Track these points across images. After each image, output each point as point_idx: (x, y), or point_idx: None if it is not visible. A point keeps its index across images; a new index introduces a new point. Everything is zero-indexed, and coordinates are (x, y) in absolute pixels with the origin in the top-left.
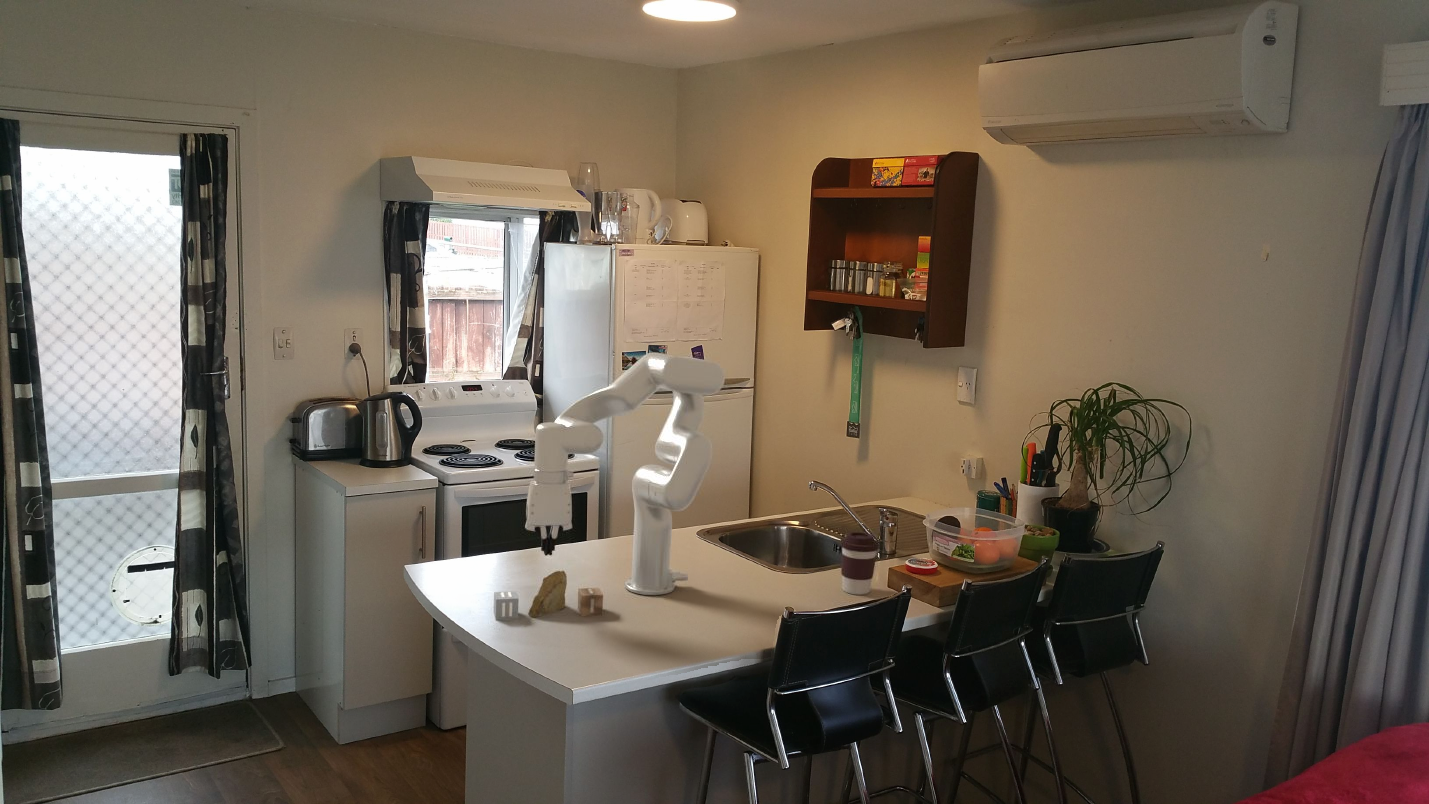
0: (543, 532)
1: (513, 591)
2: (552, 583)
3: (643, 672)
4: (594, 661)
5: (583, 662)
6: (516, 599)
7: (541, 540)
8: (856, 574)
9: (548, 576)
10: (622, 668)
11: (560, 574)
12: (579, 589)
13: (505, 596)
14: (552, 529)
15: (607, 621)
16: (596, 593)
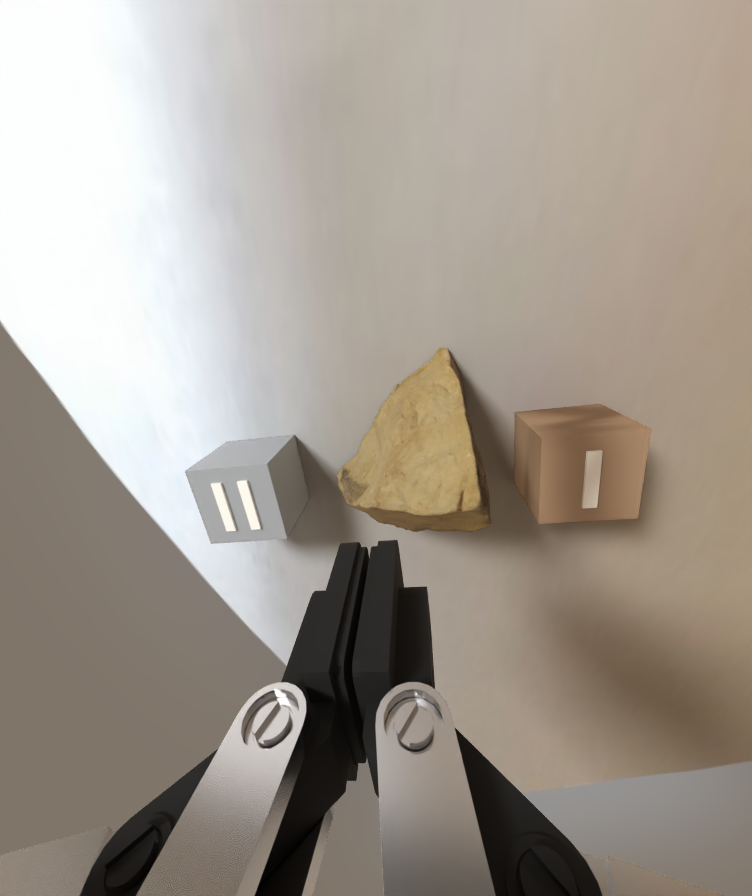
0: (278, 880)
1: (256, 466)
2: (415, 525)
3: (588, 782)
4: (495, 734)
5: (470, 735)
6: (281, 536)
7: (292, 664)
8: None
9: (395, 511)
10: (548, 764)
11: (459, 520)
12: (544, 450)
13: (236, 517)
14: (405, 822)
15: (593, 532)
16: (611, 502)
